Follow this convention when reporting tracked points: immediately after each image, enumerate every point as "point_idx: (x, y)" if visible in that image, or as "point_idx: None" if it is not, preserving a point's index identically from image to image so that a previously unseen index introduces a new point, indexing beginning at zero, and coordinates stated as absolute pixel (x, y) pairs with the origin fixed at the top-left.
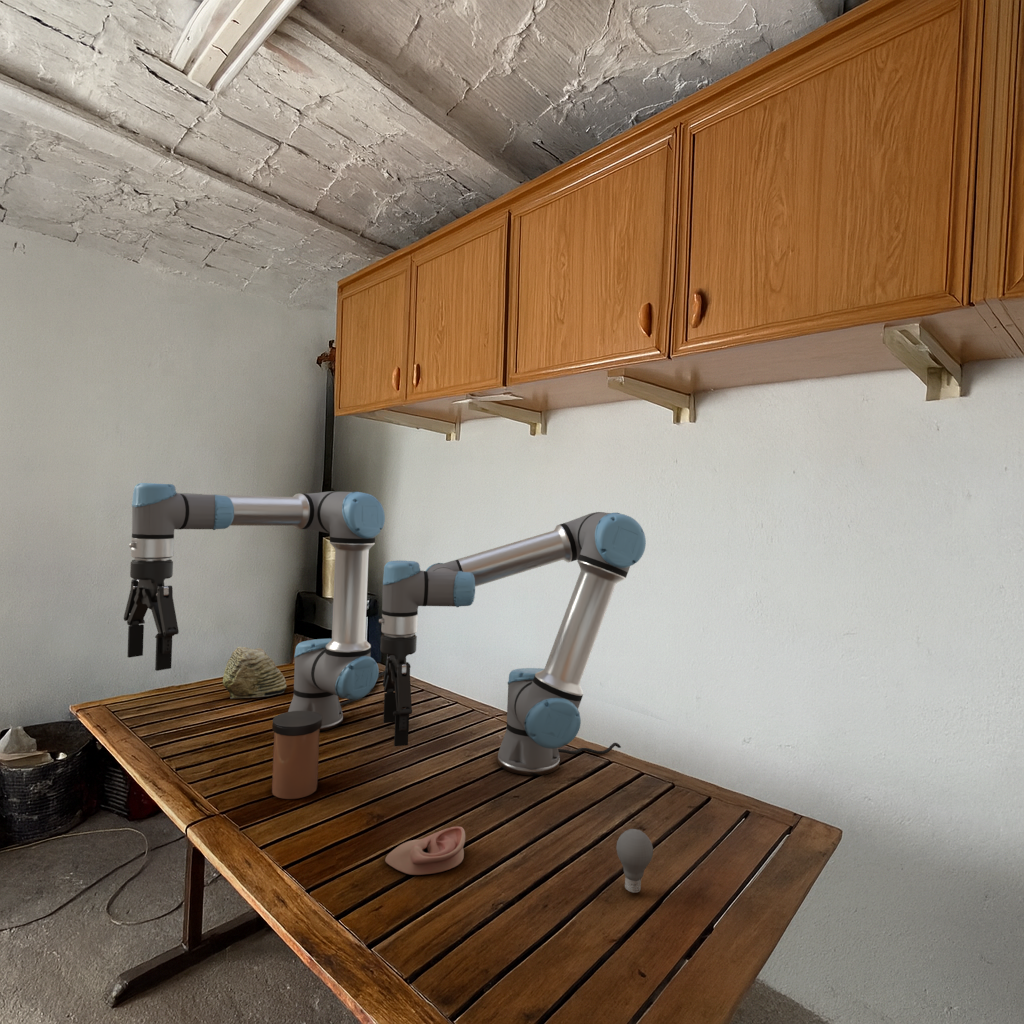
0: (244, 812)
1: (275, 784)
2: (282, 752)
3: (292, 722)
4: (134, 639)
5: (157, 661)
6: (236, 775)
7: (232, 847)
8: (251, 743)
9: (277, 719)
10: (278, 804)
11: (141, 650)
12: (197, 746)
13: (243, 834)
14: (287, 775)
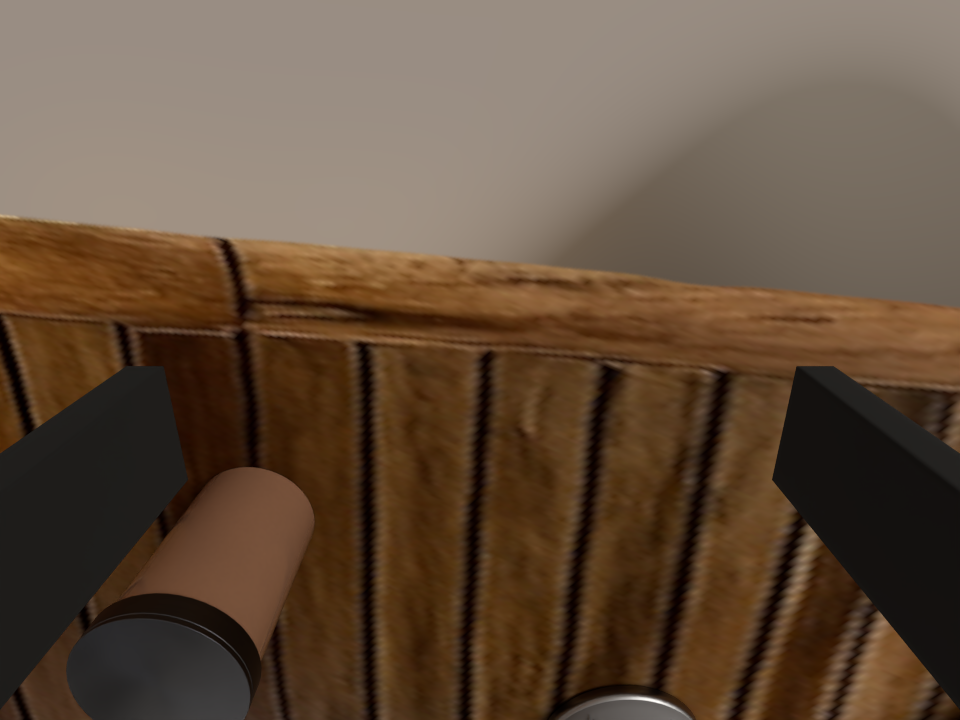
0: (207, 374)
1: (234, 485)
2: (164, 555)
3: (125, 659)
4: (904, 518)
5: (67, 409)
6: (442, 460)
7: (35, 267)
8: (619, 580)
9: (188, 642)
10: (197, 450)
11: (802, 498)
12: (725, 477)
13: (88, 317)
14: (184, 517)
